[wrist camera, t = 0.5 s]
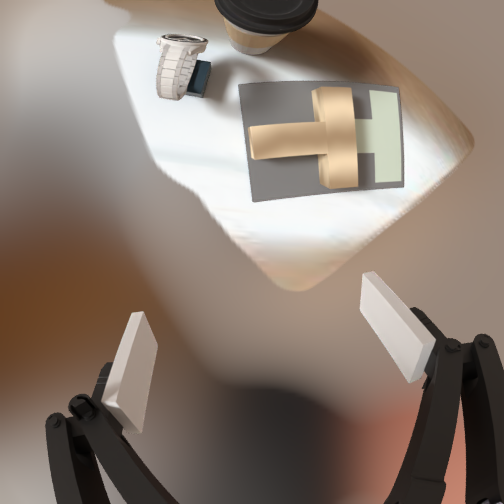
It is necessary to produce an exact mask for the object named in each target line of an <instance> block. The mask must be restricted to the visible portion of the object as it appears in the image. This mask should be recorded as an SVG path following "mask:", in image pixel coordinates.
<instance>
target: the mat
mask: <svg viewBox="0 0 504 504" xmlns="http://www.w3.org/2000/svg"><path fill="white" fill-rule="evenodd" d="M238 87H239V95H240V103H241V111H242V119H243V127H244V135H245V143H246V151H247V159H248V168H249V176H250V184H251V193H252V201H253V202H258V201H266V200H273V199H281V198H290V197H298V196H307V195H316V194H326V193H336V192H347V191H358V190H370V189H383V188H398V187H404V156H403V132H402V117H401V106H400V96H399V88H398V87H392V86H385V85H376V84H366V83H354V82H336V81H280V82H262V83H249V84H239V85H238ZM319 87H348V88H351V91H352V99H353V108H354V118H355V130H356V144H357V163H358V187H348V188H336V189H329V188H327V187H325V186H323V185H321V184H320V180H319V164H318V154H313V155H300V156H288V157H277V158H268V159H259V160H254V159H253V158H251V151H250V142H249V134H248V127H251V126H260V125H271V124H284V123H301V122H315V118H314V109H313V100H312V92H311V91H313V90H315V89H317V88H319Z"/></svg>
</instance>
